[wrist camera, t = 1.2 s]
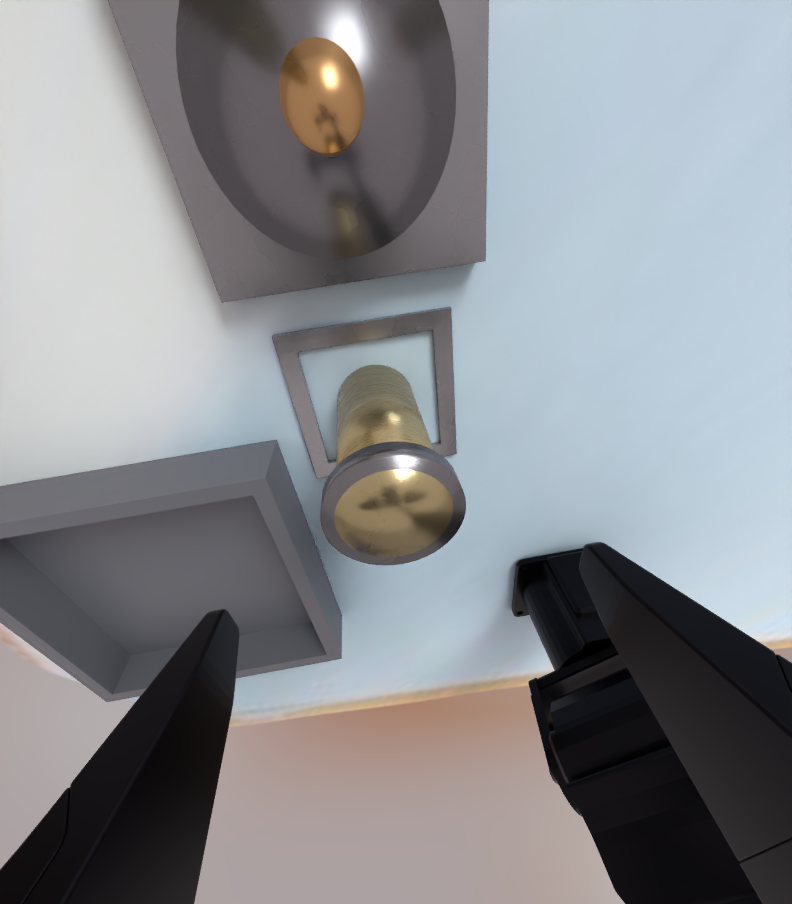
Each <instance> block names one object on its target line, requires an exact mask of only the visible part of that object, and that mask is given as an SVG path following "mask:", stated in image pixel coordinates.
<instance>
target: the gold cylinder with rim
mask: <svg viewBox="0 0 792 904" xmlns="http://www.w3.org/2000/svg"><path fill="white" fill-rule="evenodd" d="M465 510H466V501H465V496H464V492H463V489H462V487H461V485H460V482H459V480H458V477H457V475H456V473H455V471H454V469H453V467H452V466H451V465H450V463H449V462H448V461H447V460H446V459H445V458H444V457H443V456H442V455H440V454H439V453H437V452H436V451H434V450H433V447H432V444H431V441H430V439H429V436H428V433H427V430H426V428H425V425H424V422H423V419H422V417H421V414H420V411H419V409H418V406H417V403H416V400H415V398H414V395H413V392H412V389H411V387H410V385H409V383H408V381H407V380H406V378H405V377H404V376H403V375H402V374H401V373H399V372H398V371H396V370H395V369H393V368H390V367H387V366H383V365H370V366H365V367H362V368H360V369H358V370H356V371H354V372H353V373H351V374H350V375H349V376H348V377H347V378H346V379H345V381H344V382H343V384H342V386H341V388H340V391H339V395H338V419H337V450H336V467H335V468H334V469H333V470H332V472H331V473H330V475H329V476H328V478H327V480H326V482H325V485H324V488H323V493H322V504H321V525H322V529H323V532H324V534H325V536H326V538H327V539H328V541H329V542H330V543H331V544H332V545H333V546H334V547H335V548H336V549H337V550H338V551H339V552H341V553H342V554H344V555H346V556H347V557H350V558H352V559H354V560H357V561H360V562H364V563H368V564H375V565H396V564H403V563H408V562H412V561H415V560H418V559H421V558H423V557H426V556H428V555H430V554H432V553H434V552H435V551H437V550H438V549H440V548H441V547H443V546H444V545H445V544H446V543H448V542H449V541H450V539H451V538H452V537H453V536H454V535H455V534H456V532H457V531H458V529H459V528H460V526H461V524H462V522H463V519H464V515H465Z"/></svg>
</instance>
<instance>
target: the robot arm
mask: <svg viewBox="0 0 792 904" xmlns="http://www.w3.org/2000/svg"><path fill="white" fill-rule="evenodd" d="M512 612H513V614H514V616H516V617H520V616H526V615H530V617H531V619H532V622H533V624H534V626H535V628H536V630H537V633H538V635H539V637H540V639H541V641H542V644H543V646H544V648H545V650H546V652H547V655H548V657H549V659H550V661H551V663H552V666H553V668H554V670H555V671H554V672H551V673H549V674H547V675H545V676H543V677H541V678H539V679H537V678H534V679H532V680H530V681H529V687H530V690H531V694H532V695H531V699H532V703H533V707H534V711H535V715H536V719H537V723H538V727H539V731H540V735H541V739H542V743H543V747H544V751H545V755H546V758H547V762H548V766H549V771H550V775H551V777H552V779H553V780H554V782H555V783H557V784H558V785H559V786H560V788H561V790H562V792H563V794H564V795H565V797H566V798H567V800H568V802H569V803H570V805H571V806H572V807H573V809H574V810H575V811H576V812H577V813H578V814H579V815H581V816H582V817H583V818H584V820H585V823H586V825H587V827H588V829H589V831H590V833H591V835H592V837H593V839H594V842H595V844H596V846H597V848H598V851H599V853H600V855H601V858H602V860H603V863H604V865H605V868H606V870H607V872H608V875H609V877H610V880H611V882H612V884H613V887H614V889H615V891H616V892H617V894H618V895H619V896H620V897H621V899H622V900H623V901H624V903H625V904H792V663H791V662H789V661H788V660H786V659H785V658H783V657H781V656H780V655H775V653H774V652H773V651H772V650H770V649H769V648H767V647H766V646H764V645H763V644H761V643H759V642H758V641H756V640H755V639H753V638H752V637H750V636H749V635H747V634H745V633H744V632H742V631H741V630H739V629H738V628H736V627H734V626H733V625H731V624H730V623H728V622H727V621H725V620H724V619H722V618H720V617H719V616H717V615H716V614H714V613H713V612H711V611H709V610H708V609H706V608H705V607H703V606H702V605H700V604H698V603H697V602H695V601H694V600H692V599H691V598H689V597H688V596H686V595H684V594H683V593H681V592H680V591H678V590H677V589H675V588H673V587H672V586H670V585H669V584H667V583H666V582H664V581H663V580H661V579H659V578H658V577H656V576H655V575H653V574H652V573H650V572H648V571H647V570H645V569H644V568H642V567H641V566H639V565H637V564H636V563H634V562H633V561H631V560H630V559H628V558H627V557H625V556H623V555H622V554H620V553H619V552H617V551H616V550H614V549H612V548H611V547H609V546H608V545H606V544H604V543H602V542H596V543H591V544H586V545H585V546H584V548H582V549H577V550H571V551H565V552H560V553H554V554H549V555H543V556H538V557H532V558H527V559H522V560H520V561H518V562H517V564H516V571H515V582H514V592H513V602H512ZM239 636H240V633H239V628H238V625H237V624H236V622H235V621H234V619H233V618H232V616H231V615H230V613H229V612H228V611H227V610H226V609H220V610H215V611H210V612H208V613H207V614H206V615H205V616H204V617H203V618H202V620H201V621H200V622H199V623H198V625H197V626H196V627H195V628H194V630H193V631H192V632H191V633H190V635H189V636H188V637H187V638H186V640H185V641H184V642H183V643H182V645H181V646H180V647H179V648H178V650H177V651H176V652H175V653H174V655H173V656H172V657H171V658H170V660H169V661H168V662H167V664H166V665H165V666H164V667H163V669H162V670H161V671H160V672H159V674H158V675H157V676H156V677H155V679H154V680H153V681H152V682H151V684H150V685H149V686H148V687H147V689H146V690H145V691H144V692H143V694H142V695H141V696H140V697H139V699H138V700H137V701H136V702H135V704H134V705H133V706H132V708H131V709H130V710H129V711H128V713H127V714H126V715H125V716H124V718H123V719H122V720H121V721H120V723H119V724H118V725H117V727H116V728H115V729H114V730H113V732H112V733H111V734H110V735H109V736H108V738H107V739H106V740H105V741H104V743H103V744H102V745H101V746H100V748H99V749H98V750H97V751H96V753H95V754H94V755H93V757H92V758H91V759H90V760H89V762H88V763H87V764H86V765H85V767H84V768H83V769H82V770H81V772H80V773H79V774H78V775H77V777H76V778H75V779H74V780H73V782H72V783H71V787H70V788H67V789H66V790H65V791H64V793H63V794H62V795H61V797H60V798H59V799H58V800H57V801H56V803H55V804H54V805H53V806H52V808H51V809H50V810H49V812H48V813H47V814H46V815H45V816H44V818H43V819H42V820H41V822H40V823H39V824H38V825H37V826H36V827H35V829H34V830H33V831H32V832H31V834H30V835H29V836H28V837H27V839H26V840H25V841H24V842H23V843H22V845H21V846H20V847H19V848H18V849H17V851H16V852H15V853H14V854H13V855H12V856H11V858H10V859H9V860H8V861H7V862H6V863H5V865H4V866H3V867H2V868H1V869H0V904H194V901H195V896H196V891H197V885H198V881H199V876H200V870H201V865H202V860H203V855H204V850H205V845H206V840H207V835H208V829H209V824H210V819H211V814H212V808H213V804H214V799H215V794H216V789H217V784H218V779H219V773H220V768H221V763H222V758H223V753H224V747H225V742H226V737H227V732H228V727H229V722H230V717H231V712H232V706H233V699H234V691H235V680H236V669H237V658H238V648H239Z"/></svg>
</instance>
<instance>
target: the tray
mask: <svg viewBox="0 0 792 904" xmlns="http://www.w3.org/2000/svg"><path fill="white" fill-rule="evenodd" d="M220 609H226V610H227V611H228V612H229V613H230V615H231V616H232V618H233V619H234V621H235V622H236V624H237V625H238V628H239V633H240V636H239V648H238V658H237V669H236V678H240V677H245V676H250V675H256V674H261V673H267V672H272V671H277V670H283V669H288V668H294V667H299V666H304V665H310V664H315V663H320V662H326V661H331V660H337V659H342V615H341V612H340V610H339V607H338V604H337V602H336V599H335V596H334V593H333V591H332V588H331V585H330V583H329V580H328V577H327V575H326V572H325V569H324V567H323V564H322V561H321V558H320V556H319V553H318V550H317V548H316V545H315V542H314V540H313V537H312V534H311V532H310V529H309V526H308V523H307V521H306V518H305V515H304V513H303V510H302V507H301V505H300V502H299V499H298V497H297V494H296V491H295V488H294V486H293V483H292V480H291V478H290V475H289V472H288V470H287V467H286V464H285V462H284V459H283V456H282V453H281V451H280V448H279V445H278V443H277V440H272V441H267V442H261V443H255V444H249V445H243V446H237V447H231V448H225V449H219V450H213V451H207V452H201V453H195V454H190V455H184V456H178V457H172V458H166V459H160V460H154V461H148V462H142V463H136V464H130V465H124V466H118V467H113V468H107V469H101V470H95V471H89V472H83V473H77V474H71V475H65V476H59V477H53V478H47V479H41V480H35V481H30V482H24V483H18V484H12V485H6V486H0V623H2V624H3V625H4V626H6V627H7V628H8V629H10V630H11V631H13V632H14V633H15V634H17V635H18V636H19V637H21V638H22V639H23V640H25V641H26V642H27V643H29V644H30V645H31V646H33V647H34V648H35V649H37V650H38V651H39V652H41V653H42V654H43V655H45V656H46V657H47V658H49V659H50V660H51V661H53V662H54V663H55V664H57V665H58V666H59V667H61V668H62V669H63V670H65V671H66V672H67V673H69V674H70V675H71V676H73V677H74V678H75V679H77V680H78V681H79V682H81V683H82V684H83V685H85V686H86V687H87V688H89V689H90V690H91V691H93V692H94V693H96V694H97V695H98V696H100V697H101V698H102V699H104V700H105V701H106V702H110V701H115V700H121V699H126V698H132V697H137V696H141V695H142V694H143V692H144V691H145V690H146V689H147V687H148V686H149V685H150V684H151V682H152V681H153V680H154V679H155V677H156V676H157V675H158V674H159V672H160V671H161V670H162V669H163V667H164V666H165V665H166V664H167V662H168V661H169V660H170V658H171V657H172V656H173V655H174V653H175V652H176V651H177V650H178V648H179V647H180V646H181V645H182V643H183V642H184V641H185V640H186V638H187V637H188V636H189V635H190V633H191V632H192V631H193V630H194V628H195V627H196V626H197V625H198V623H199V622H200V621H201V620H202V618H203V617H204V616H205V615H206V614H207V613H208V612H210V611H215V610H220Z"/></svg>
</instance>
